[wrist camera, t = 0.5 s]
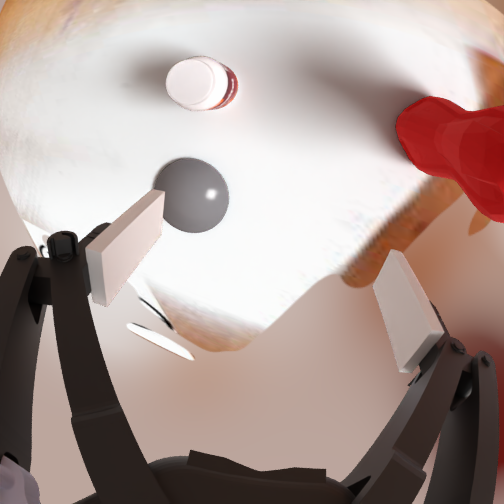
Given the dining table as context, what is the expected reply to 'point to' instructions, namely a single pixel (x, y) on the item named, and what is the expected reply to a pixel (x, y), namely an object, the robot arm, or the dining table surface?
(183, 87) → the pill bottle
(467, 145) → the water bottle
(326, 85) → the dining table surface
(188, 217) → the coaster
